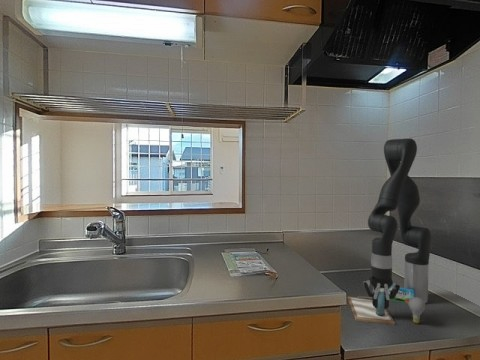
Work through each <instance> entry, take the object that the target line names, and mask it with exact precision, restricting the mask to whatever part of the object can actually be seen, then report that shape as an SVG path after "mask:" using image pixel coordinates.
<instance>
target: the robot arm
mask: <svg viewBox="0 0 480 360" xmlns="http://www.w3.org/2000/svg"><path fill="white" fill-rule="evenodd" d="M417 152H418V146H417V143H416V140H415V139H413V138H397V139H396V138H395V139H394V138H393V139H388V140H386V141H385V143H384V145H383V154H384V155H383V156H384V159H385V163H386V165H387V170H388V172H389V175H390V177H389V178H387V180H386V181H385V182H384V184H383V185H382V187H381V189H380V192H379V197H378V200H377V203H376V204H375V206H374V208H373V209H372V211H371V213H370V214H369V216H368V219H367V226H368V228H369V229H370V231H372V232H378V233H382V236H381V237H375V238H374V237H373V239H372V240H371V257H370V278H369V279H368V280H362V284H363V286H364V289H365V290H366V293H367V295H368V297H372V304H373V306H374V307H375V308H377V295H378V292H379V288H384V289H385V309H387V310H388V308H389V307H390V301H391V300H390V299H394V298H395V296H396V294H397V292H398V290H399V289H400V287H401V286H400V284H398V283H397V282H394V281H393V257H392V256H393V255H392V254H393V252H392V251H393V249H392V248H393V242H394V239H395V235H396V234H397V233H396V232H397V229H398V225H399V231H400V237H401V241H402V243H403V244H404V245H405V246H409V247H413V248H417V249H418V250H417V251H415V252H407V253H406V254H405V255H404V277H403V278H404V279H403V281H404V282H403V283H404V284H403V288H406V289H412V290H414V297H418V298H420V299H422V300H423V301H424V303H425V304H427V303H428V301H429V299H428V297H429V267H430V265H429V264H430V261H429V260H430V254H431V242H432V233H431V230H430V229H429V228H427V227H424V226H423V227H422V226H416V225H412V221H411V219H412V216H413V214H414V213H415V211H416V210H417V209H418V207H419V205H420V202H421V199H420V191H419V188H418V185H417V184H416V182H415V181H414V180H413V178H412V177H410V176H409V172H410V171H411V169H412V165H413V163H414V162H415V159H416V156H417ZM395 210H397V214H398V220H399V224H398V221H397V219H396V218H395V217H394V216H392V215H387V214H386V213H387V212H393V211H395ZM371 285H372V292H371V290H370V287H371ZM391 286H392V287H393V289H392V290H391V292H390V294H389V291H388V289H389V288H390V287H391Z"/></svg>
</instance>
